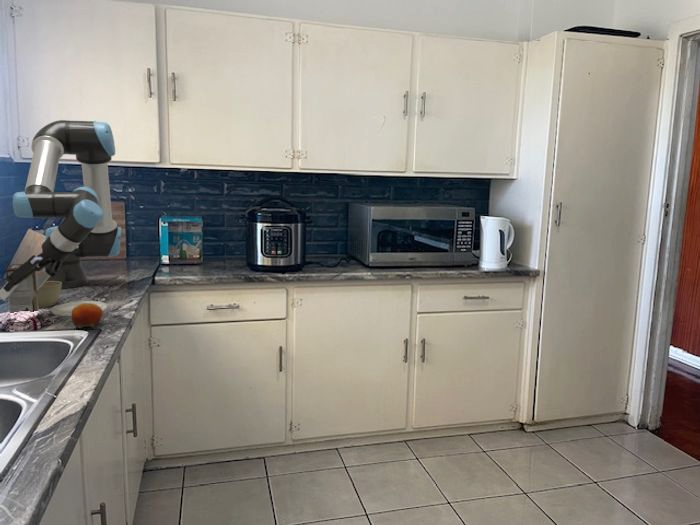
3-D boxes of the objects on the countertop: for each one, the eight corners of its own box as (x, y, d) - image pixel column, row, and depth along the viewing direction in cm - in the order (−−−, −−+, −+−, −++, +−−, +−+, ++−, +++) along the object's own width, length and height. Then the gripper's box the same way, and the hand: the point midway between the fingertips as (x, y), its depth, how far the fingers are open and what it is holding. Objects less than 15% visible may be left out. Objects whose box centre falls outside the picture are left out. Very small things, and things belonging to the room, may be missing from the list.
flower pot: (55, 299, 188) (54, 279, 187) (68, 304, 182) (66, 283, 181) (24, 305, 180) (22, 284, 179) (36, 310, 174) (34, 288, 173)
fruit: (70, 328, 151) (70, 300, 154) (73, 335, 158) (72, 309, 160) (102, 325, 154) (101, 298, 157) (103, 332, 161) (102, 306, 164)
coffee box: (15, 315, 168) (11, 264, 165) (39, 313, 170) (35, 263, 168) (9, 323, 160) (4, 269, 157) (34, 321, 162) (30, 268, 159)
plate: (72, 303, 184) (71, 299, 184) (116, 305, 182) (116, 301, 182) (40, 315, 169) (39, 310, 168) (88, 317, 167) (87, 313, 166)
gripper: (41, 259, 147) (-5, 311, 151) (95, 247, 171) (54, 291, 176) (21, 239, 147) (-24, 291, 151) (78, 229, 171) (37, 274, 175)
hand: (18, 291), depth 163 cm, fingers open, 13 cm apart
